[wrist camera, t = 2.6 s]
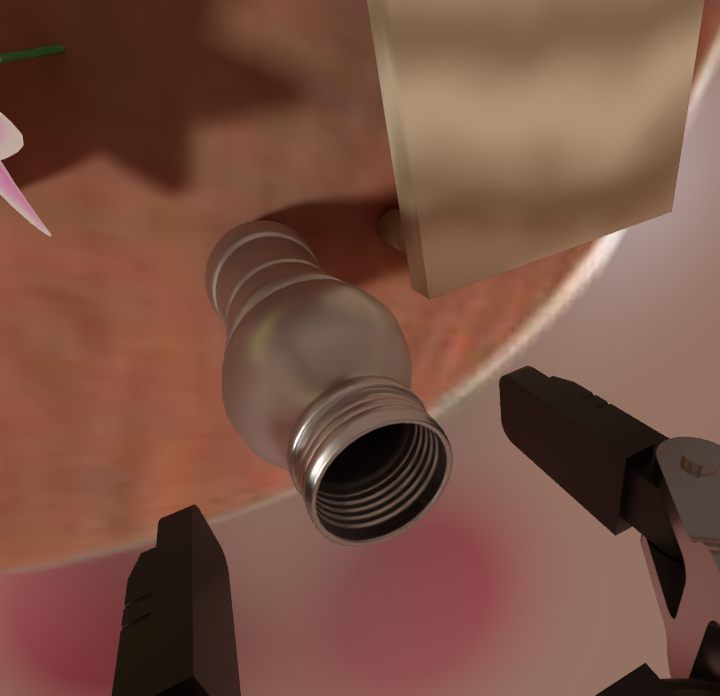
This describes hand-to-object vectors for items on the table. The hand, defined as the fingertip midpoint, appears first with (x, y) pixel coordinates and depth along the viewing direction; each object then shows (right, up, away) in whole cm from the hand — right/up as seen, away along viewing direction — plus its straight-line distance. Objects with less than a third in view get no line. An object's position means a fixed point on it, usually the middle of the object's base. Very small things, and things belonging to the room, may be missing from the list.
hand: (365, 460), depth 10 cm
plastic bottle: (-7, +8, +16) cm, 19 cm away
